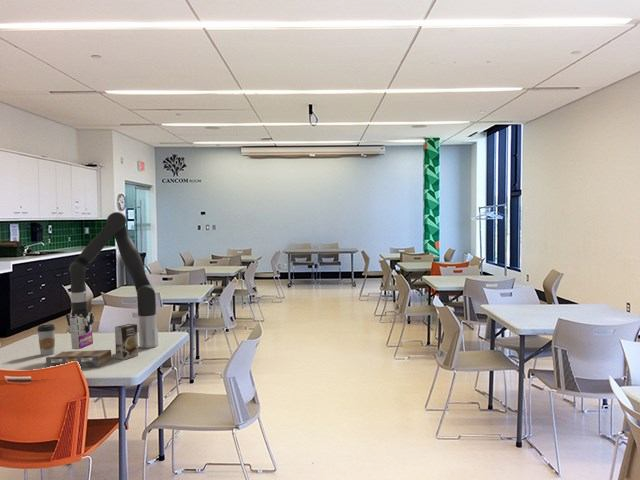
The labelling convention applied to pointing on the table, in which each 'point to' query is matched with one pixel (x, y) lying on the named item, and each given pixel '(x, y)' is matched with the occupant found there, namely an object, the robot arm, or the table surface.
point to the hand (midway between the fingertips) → (81, 333)
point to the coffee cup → (46, 339)
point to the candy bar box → (80, 332)
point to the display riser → (80, 358)
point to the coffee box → (126, 341)
